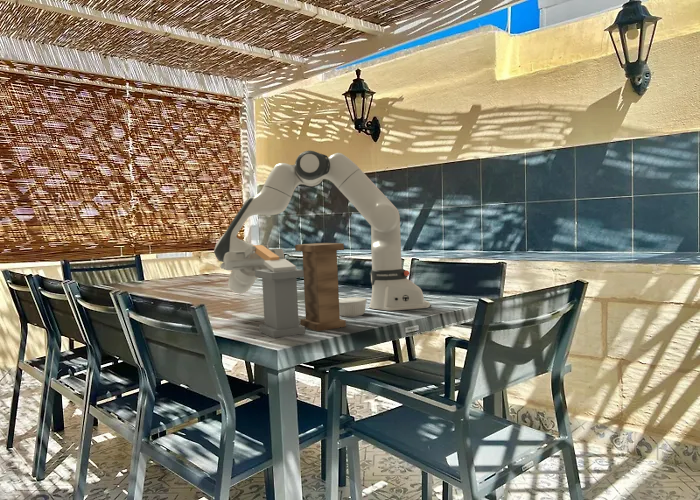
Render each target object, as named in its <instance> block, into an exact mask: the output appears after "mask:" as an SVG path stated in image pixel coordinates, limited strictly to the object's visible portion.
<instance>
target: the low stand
mask: <svg viewBox="0 0 700 500" xmlns="http://www.w3.org/2000/svg"><path fill="white" fill-rule="evenodd" d="M255 277H260V278H261V279H262V280H261V281H262V283H261V284H262V299H263V300H262V301H263V302H262V303H263V316H264V317H263V318H264V319H263V320H264V321H263V322H264V324H263V323H262V324H259V325H258V331H259V332H260V333H262V334H264V335H266V336H268V337H271V338H273V339H274V338H275V339H276V338H283V337H289V336H297V335H301V334H306V327H305V326H302V325H301V324H299V322H300V320H299V307H298V306H299V303H298V283H297V282H298V281H297V280H298V279H297V278H304V271H303V269H300V268H299V269H298V268H296V270H291V271H280V272H273V271H272V270H270V269H262V270H255ZM260 278H259V279H260Z"/></svg>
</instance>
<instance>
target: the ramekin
mask: <svg viewBox="0 0 700 500" xmlns="http://www.w3.org/2000/svg"><path fill="white" fill-rule="evenodd" d="M367 302H368V301H367V298H364V297H357V296H355V297H354V296H353V297H342V298H339V313H340V317H345V318H346V317H358V316H362V315H364V314H365V313H366V306H367Z"/></svg>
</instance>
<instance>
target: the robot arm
mask: <svg viewBox="0 0 700 500" xmlns="http://www.w3.org/2000/svg"><path fill="white" fill-rule="evenodd" d="M294 163H295V164H289V163H286V162H280V163H279V162H278V163H277V164H275V165H274V167H273V168H272V169H271V171H270V172H269V174H268V176H267V178H266V180H265V182H264V184H263V186H262V188H261V190H260V191H259V192H258V193H257V194H255V196H254V195H252V196H250V197H248V198H247V199H246V201H245V202H244V204H243V205H242V207H241V208H240V209H239V210H238V212H237V214H236V215H235V216H234V218H233V220H232V221H231V222H230V224H229V226H228V228H227V230H226V231H225V232H224V233H223V234H222V236H221V237H220V238H218V240H217V241H216V243H215V246H214V249H213V250H214V252H213V254H214V256H215V257H216V259H217V260H218V261H219V262H221V264H220V269H222V270H226V271H231V273H230V274H229V277H228V280H227V281H228V282H227V284H228V285H227V286H228V288H229V290H230V291H232V292H233V293H234V294H237V295H238V294H239V295H241V294H245V293H246V292H248V291H249V290H250V289H251V287H252V286H253V285H254V284H255V282H256V280H257V279H260V277H255V270H262V269H269V268H268V267H266V266H265V265H264V261H265V260H264V259H263V258H261V257H260V256H259V255H257V254H256V253H255V252H256V247H255V246H253V245H254V244H253V243H250V242H248V241H246V240H243V239H240V238H238V237H237V235H238V233H239V232H240V231H241V230H242V227H243V226H244V224H245V223H246V221H247V220H248V219H249V218H250V217H252V216H256V215H257V216H259V215H260V216H261V215H262V216H263V215H264V216H274V215H279V214H282V213H283V212H285V211H286V209H287V207H288V206H289V204H290V203H291V199H292V197H293V195H294V192H295V190H296V188H297V187H303V188H315V187H318V186H320V185H322V183H323V181H324V180H327V181H330V182H331V183H332V184H333V185H334V186H335V187H336V188H337V189H338V191H339V192H340V193H342V195H343V196H344V197H345V198H346V199H347V200H348V201H349V203H350V204H351V205H353V207H354V208H355V209H356V210H357V211H358V213H359V214H360V215H361V216H362V217H363V218H364V219H365V220H366V222H367V223H368V224H369V225H370V229H371V231H370V232H371V233H370V234H371V235H370V236H371V240H370V241H371V247H370V248H371V250H370V251H371V270H370V283H371V287H372V288H371V297H370V298H371V299H370V303H369V308H370V309H374V310H382V311H401V310H402V311H403V310H404V311H405V310H415V309H427V308H430V306H431V303H430V302H429V301H428V300H426V299H425V298H424V297H425V296H424V293H423V290H422V289H421V287H420V286H418V285H417V284H415V283H414V282H413V281H411V280H410V279H408V276H409V275H410V271H409V270H408V269H407V270H406V269H404V268H403V267H402V243H401V241H402V240H401V239H402V238H401V237H402V235H401V217H400V212H399V209H398V208H397V207H396V206H395V205H394V204H393V203H392V201H391V200H390V199H389V198H388V197H387V196H386V195H385V194H384V193H383V191H381V190H380V189H379V187H378V186H376V184H375V183H374V182H373V181H372V180H371V179H370V178H369V177H368V176H367V174H366V173H365V172H364V171H363V170H362V169H361V168H360V167H359V166H358V165H357V164H356V163H355V162H354V161H353V160H352V159H350V157H348V156H346V155H345V154H344V153H342V152H336V153H335V152H334V153H333V154H331V155H329V156H327V155H326V154H322V153H320V152H317V151H316V150H315V151H314V150H306V151H303V152H301V153H300V154H299V155H298V156H297V157H296V159H295V162H294ZM263 246H264V247H266V248H267V249H269V250H270V251H271V252H273V253H274V254H276V255H277V256H279V259H285V253H284V250H283V249H282V248H269V245H267V244H266V245H263Z"/></svg>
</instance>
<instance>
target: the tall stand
mask: <svg viewBox="0 0 700 500" xmlns="http://www.w3.org/2000/svg"><path fill="white" fill-rule="evenodd" d="M344 244H345V243H339V242H316V243H315V242H313V243H302V244H301V243H300V244H295V245H294V247H295V248H294V249H295V252H302V270H303V271H304V277H303V289H304V290H303V291H304V309H305V310H304V311H305V318H299V319H300V320H299V322H300V324H299V325H302V326H305V329H306V328H307V329H309V330H313V331H316V332H321V331H326V330H327V331H328V330H334V329H341V328H347V324H346V319H342V318H341V316H340V313H339V299H340V298H339V293H340V291H339V273H338V270H339V269H338V255H337V254H338V253H337V252H338V251H344V250H345V245H344ZM340 327H341V328H340Z"/></svg>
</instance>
